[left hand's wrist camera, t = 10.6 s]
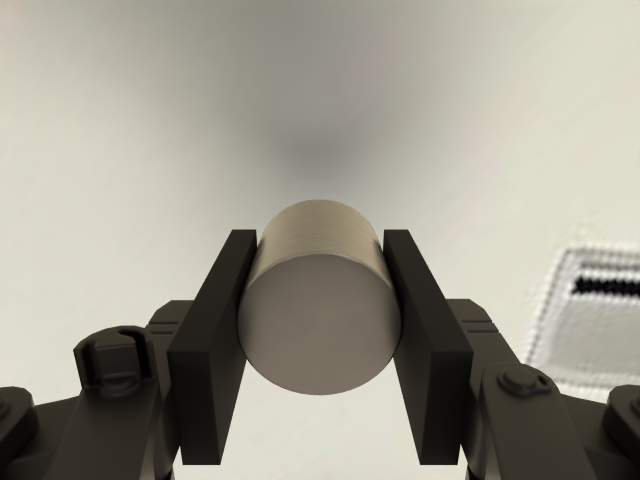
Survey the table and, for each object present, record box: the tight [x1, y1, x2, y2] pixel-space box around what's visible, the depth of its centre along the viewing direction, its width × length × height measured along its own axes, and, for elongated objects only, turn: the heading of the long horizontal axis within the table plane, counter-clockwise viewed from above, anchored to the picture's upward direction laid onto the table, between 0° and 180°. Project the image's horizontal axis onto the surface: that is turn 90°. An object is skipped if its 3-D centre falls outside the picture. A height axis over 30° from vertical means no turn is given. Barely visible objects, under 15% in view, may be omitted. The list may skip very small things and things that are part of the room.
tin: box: [236, 200, 403, 395], centre depth 13 cm, size 4×4×4 cm
